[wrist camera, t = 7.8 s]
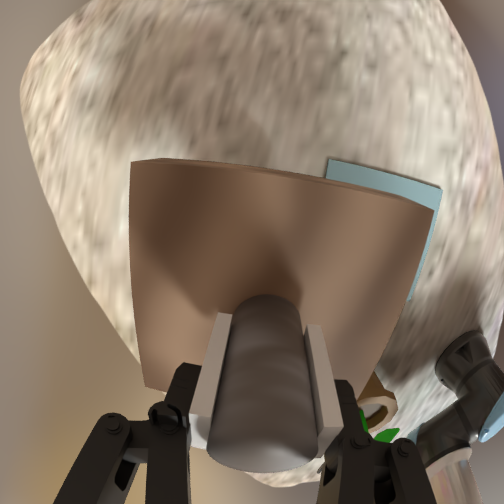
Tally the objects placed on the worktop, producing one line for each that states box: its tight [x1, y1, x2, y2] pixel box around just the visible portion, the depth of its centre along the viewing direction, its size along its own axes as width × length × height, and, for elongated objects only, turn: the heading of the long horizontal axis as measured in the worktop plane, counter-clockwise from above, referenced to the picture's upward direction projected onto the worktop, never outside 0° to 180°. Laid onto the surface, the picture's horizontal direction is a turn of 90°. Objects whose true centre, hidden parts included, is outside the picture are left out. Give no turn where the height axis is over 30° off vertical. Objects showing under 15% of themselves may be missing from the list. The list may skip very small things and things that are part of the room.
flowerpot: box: [357, 371, 400, 443], centre depth 36 cm, size 14×14×30 cm
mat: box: [325, 159, 443, 301], centre depth 39 cm, size 20×20×1 cm
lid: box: [129, 158, 435, 473], centre depth 14 cm, size 17×17×13 cm
